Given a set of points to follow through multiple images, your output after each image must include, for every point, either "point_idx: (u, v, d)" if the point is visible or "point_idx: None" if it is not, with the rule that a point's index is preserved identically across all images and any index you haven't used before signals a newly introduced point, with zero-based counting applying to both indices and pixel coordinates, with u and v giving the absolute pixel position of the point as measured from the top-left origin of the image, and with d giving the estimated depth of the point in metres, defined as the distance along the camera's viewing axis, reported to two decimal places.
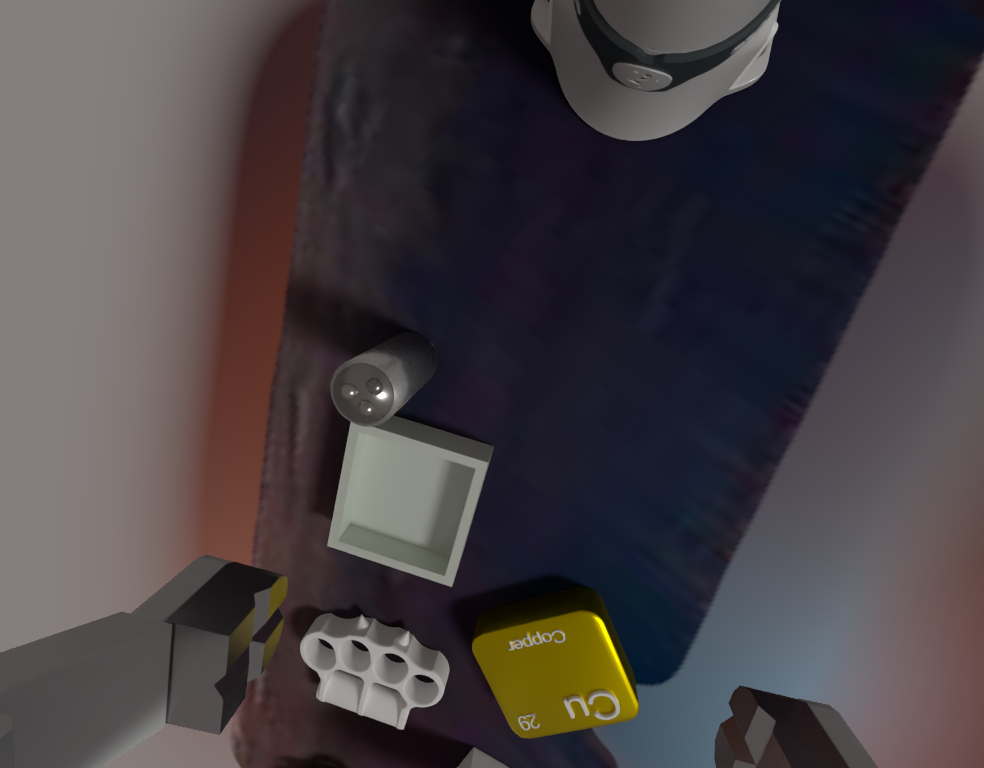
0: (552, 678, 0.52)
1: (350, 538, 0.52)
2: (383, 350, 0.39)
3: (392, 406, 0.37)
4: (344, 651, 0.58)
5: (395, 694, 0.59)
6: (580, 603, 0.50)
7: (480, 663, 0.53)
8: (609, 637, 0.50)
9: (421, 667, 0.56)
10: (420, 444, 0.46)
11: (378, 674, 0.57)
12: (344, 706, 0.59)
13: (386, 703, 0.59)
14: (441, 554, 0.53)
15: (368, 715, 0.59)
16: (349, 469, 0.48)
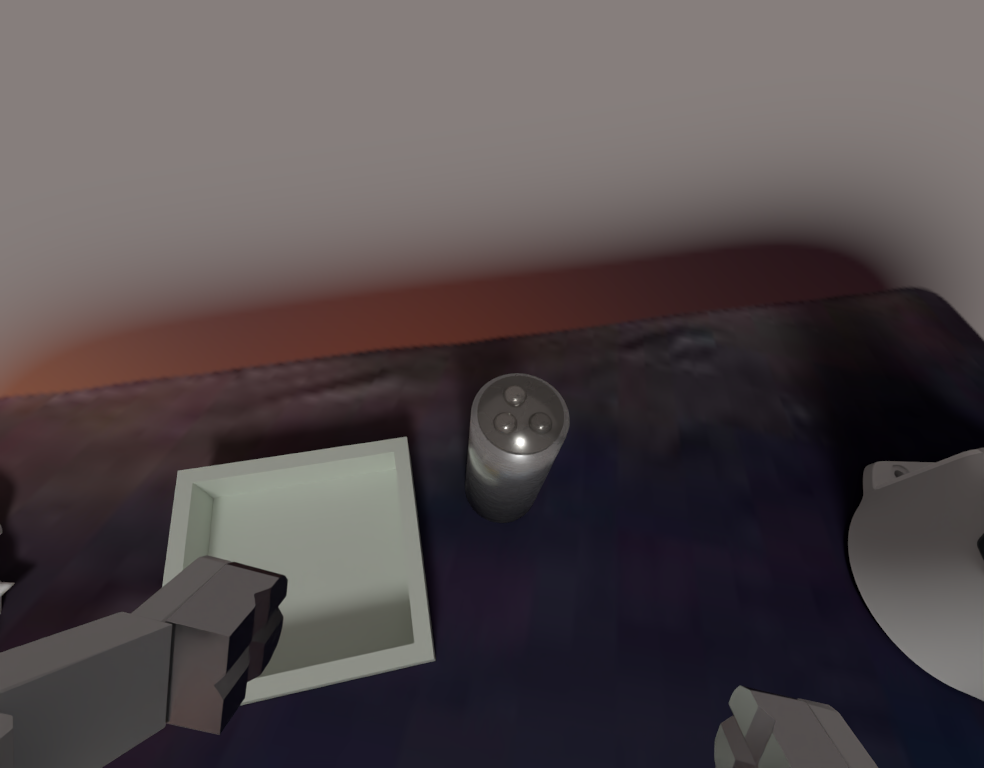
0: None
1: (197, 502, 0.32)
2: None
3: (524, 455, 0.25)
4: None
5: None
6: None
7: None
8: None
9: None
10: (414, 539, 0.30)
11: None
12: None
13: None
14: None
15: None
16: (330, 459, 0.33)
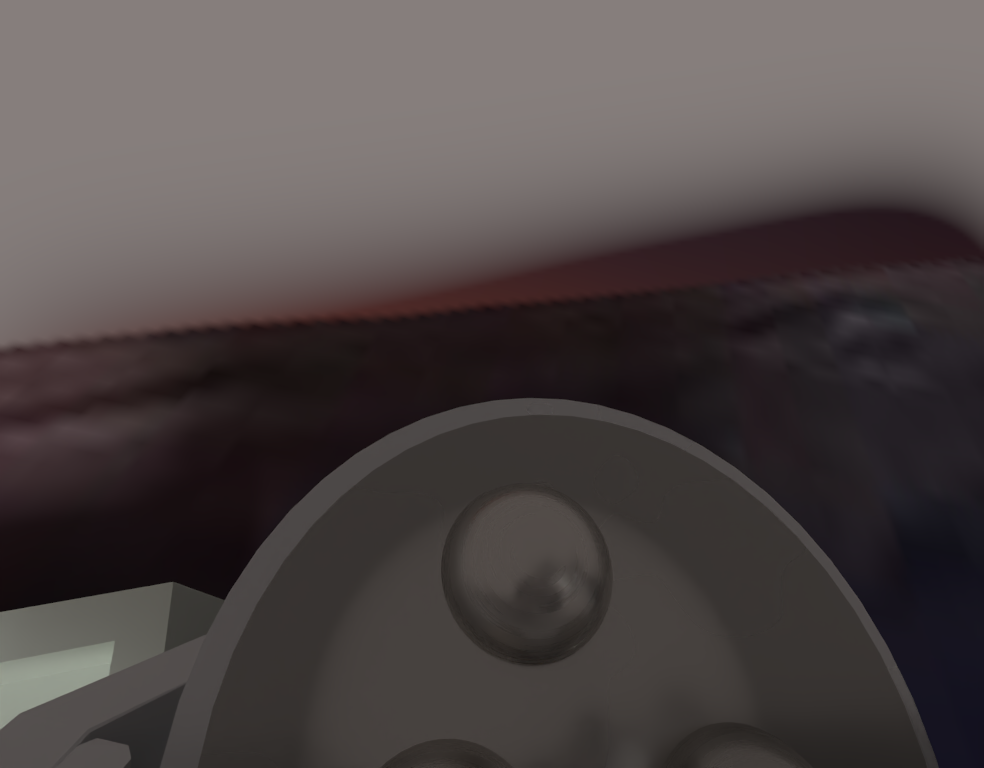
0: None
1: None
2: None
3: None
4: None
5: None
6: None
7: None
8: None
9: None
10: None
11: None
12: None
13: None
14: None
15: None
16: None
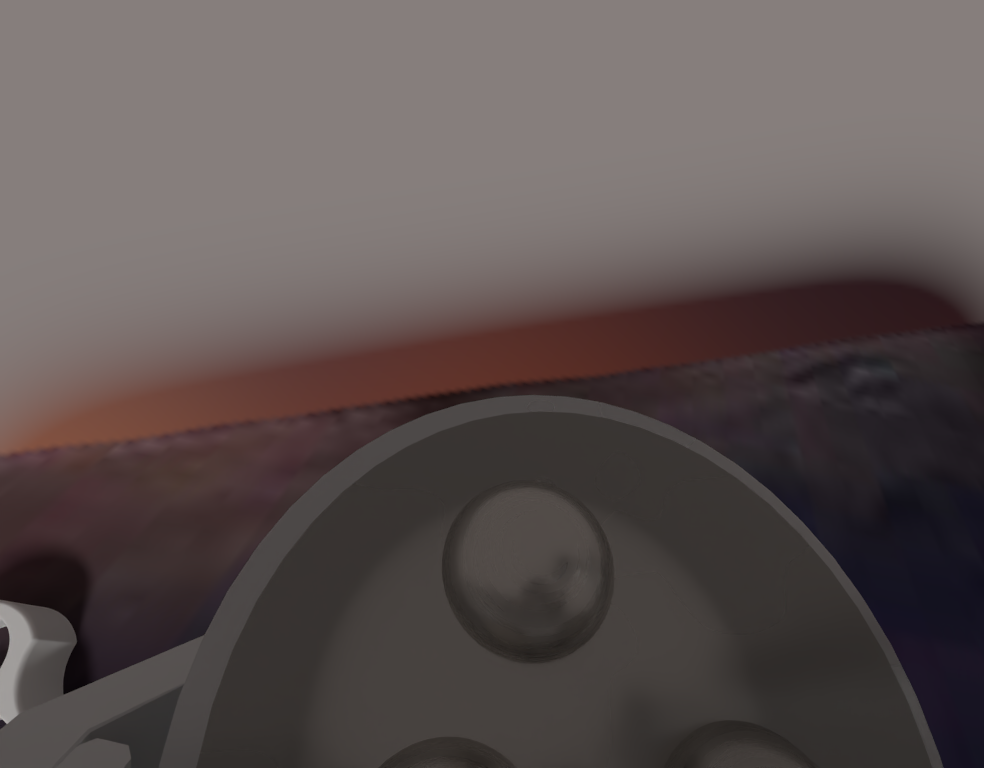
0: None
1: None
2: None
3: None
4: None
5: None
6: None
7: None
8: None
9: None
10: None
11: None
12: None
13: None
14: None
15: None
16: None
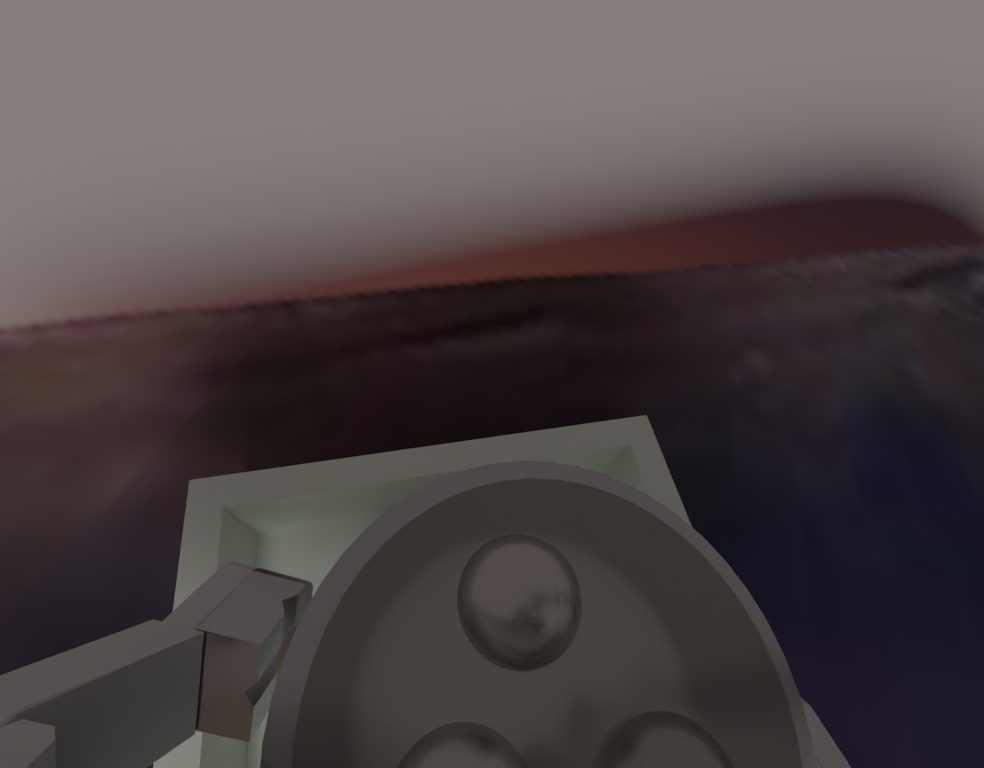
0: None
1: (232, 549, 0.14)
2: None
3: None
4: None
5: None
6: None
7: None
8: None
9: None
10: None
11: None
12: None
13: None
14: None
15: None
16: (507, 458, 0.16)
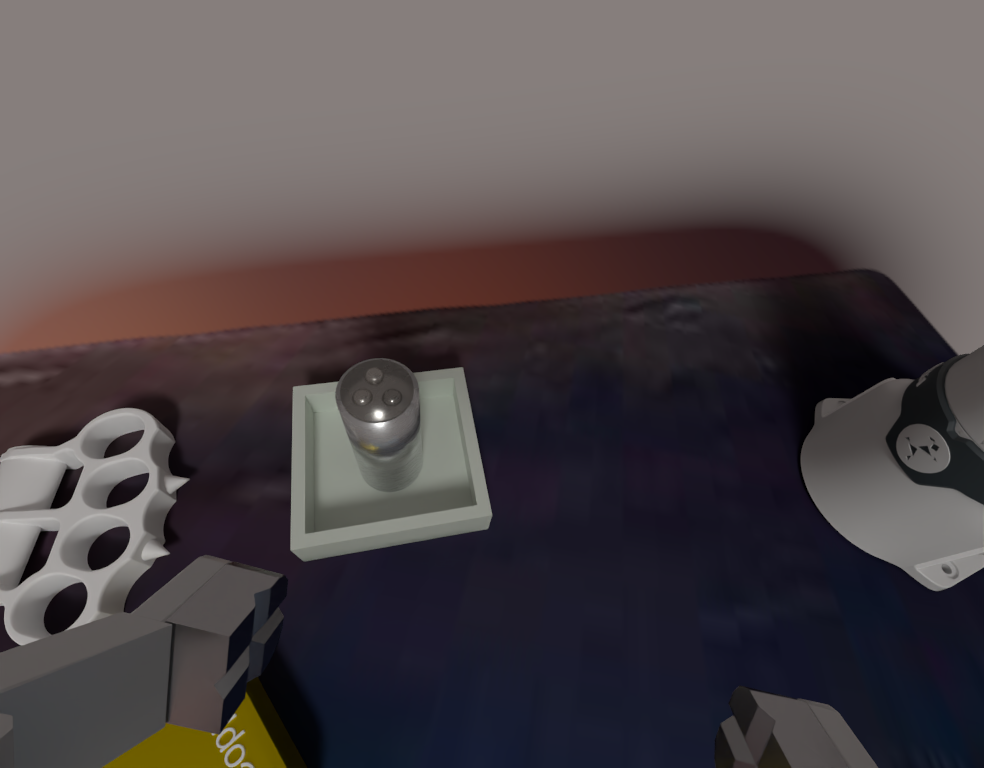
0: None
1: (307, 410, 0.42)
2: None
3: (375, 423, 0.31)
4: (114, 470, 0.39)
5: (20, 569, 0.35)
6: None
7: None
8: None
9: (103, 591, 0.33)
10: (473, 437, 0.41)
11: (78, 526, 0.36)
12: None
13: (4, 557, 0.35)
14: (314, 529, 0.39)
15: None
16: None
